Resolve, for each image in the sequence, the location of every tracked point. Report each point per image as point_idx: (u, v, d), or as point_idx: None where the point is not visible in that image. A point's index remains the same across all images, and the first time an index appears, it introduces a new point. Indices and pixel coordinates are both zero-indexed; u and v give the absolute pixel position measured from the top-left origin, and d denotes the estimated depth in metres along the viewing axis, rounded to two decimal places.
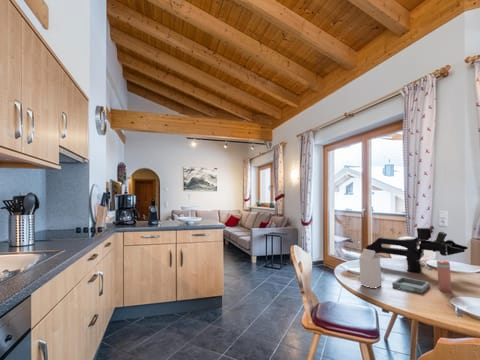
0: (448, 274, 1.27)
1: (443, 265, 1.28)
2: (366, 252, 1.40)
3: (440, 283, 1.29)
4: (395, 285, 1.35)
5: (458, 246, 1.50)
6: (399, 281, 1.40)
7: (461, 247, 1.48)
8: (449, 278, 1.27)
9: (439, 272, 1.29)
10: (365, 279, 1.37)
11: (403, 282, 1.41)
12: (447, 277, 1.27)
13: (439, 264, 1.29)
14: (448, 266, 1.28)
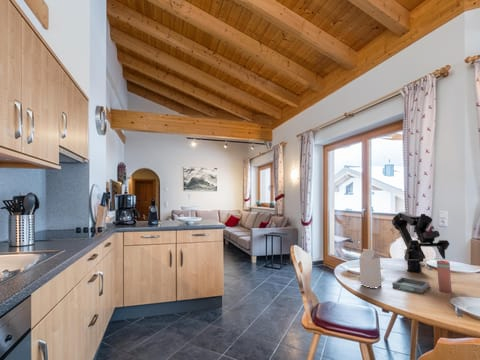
0: (448, 274, 1.27)
1: (443, 265, 1.28)
2: (366, 252, 1.40)
3: (440, 283, 1.29)
4: (395, 285, 1.35)
5: (441, 251, 1.40)
6: (399, 281, 1.40)
7: (442, 254, 1.39)
8: (449, 278, 1.27)
9: (439, 272, 1.29)
10: (365, 279, 1.37)
11: (403, 282, 1.41)
12: (447, 277, 1.27)
13: (439, 264, 1.29)
14: (448, 266, 1.28)
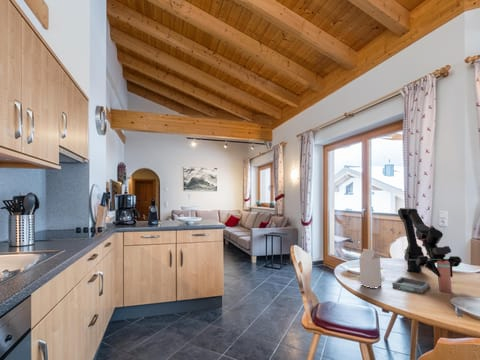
0: (448, 274, 1.27)
1: (443, 265, 1.28)
2: (366, 252, 1.40)
3: (440, 283, 1.29)
4: (395, 285, 1.35)
5: None
6: (399, 281, 1.40)
7: None
8: (449, 278, 1.27)
9: (439, 272, 1.29)
10: (365, 279, 1.37)
11: (403, 282, 1.41)
12: (447, 277, 1.27)
13: (439, 264, 1.29)
14: (448, 266, 1.28)
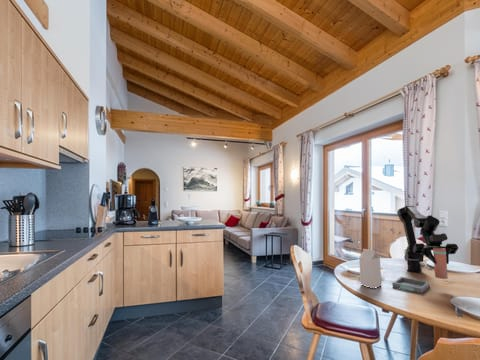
0: (444, 261, 1.28)
1: (439, 252, 1.29)
2: (366, 252, 1.40)
3: (436, 270, 1.30)
4: (395, 285, 1.35)
5: None
6: (399, 281, 1.40)
7: None
8: (445, 265, 1.28)
9: (435, 259, 1.30)
10: (365, 279, 1.37)
11: (403, 282, 1.41)
12: (443, 264, 1.28)
13: (435, 251, 1.30)
14: (444, 253, 1.28)
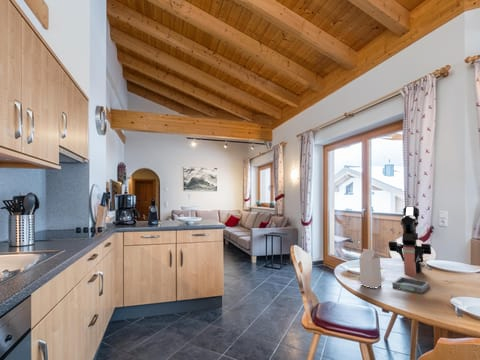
0: (410, 259, 1.33)
1: (405, 250, 1.35)
2: (366, 252, 1.40)
3: (404, 267, 1.36)
4: (395, 285, 1.35)
5: (415, 255, 1.35)
6: (399, 281, 1.40)
7: (415, 257, 1.35)
8: (412, 263, 1.33)
9: None
10: (365, 279, 1.37)
11: (403, 282, 1.41)
12: (410, 262, 1.34)
13: (403, 249, 1.37)
14: (411, 251, 1.34)
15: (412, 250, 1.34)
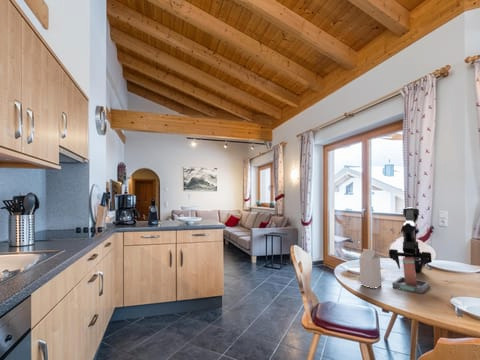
0: (410, 270, 1.33)
1: (405, 261, 1.35)
2: (366, 252, 1.40)
3: None
4: (395, 285, 1.35)
5: None
6: (399, 281, 1.40)
7: (420, 266, 1.33)
8: (412, 274, 1.33)
9: None
10: (365, 279, 1.37)
11: (403, 282, 1.41)
12: (410, 273, 1.33)
13: (403, 260, 1.37)
14: (410, 262, 1.34)
15: (412, 261, 1.34)
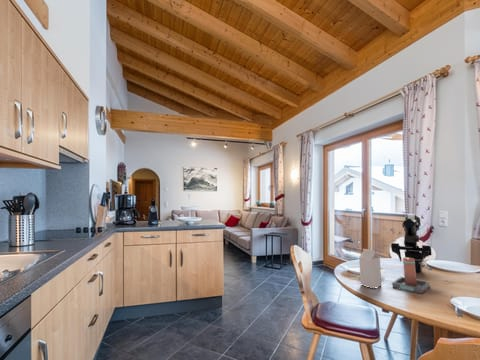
0: (411, 270, 1.33)
1: (406, 261, 1.35)
2: (366, 252, 1.40)
3: (405, 279, 1.36)
4: (395, 285, 1.35)
5: (421, 256, 1.42)
6: (399, 281, 1.40)
7: (420, 258, 1.41)
8: (412, 274, 1.33)
9: (404, 268, 1.36)
10: (365, 279, 1.37)
11: (403, 282, 1.41)
12: (410, 273, 1.33)
13: (403, 260, 1.36)
14: (411, 263, 1.33)
15: (412, 261, 1.33)
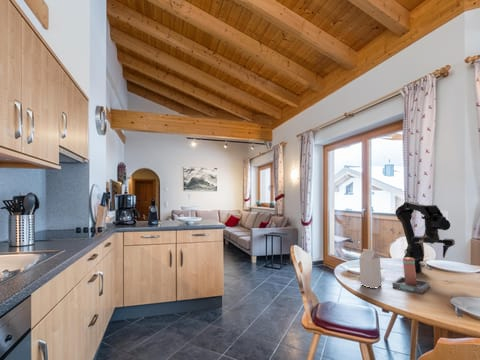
0: (411, 270, 1.33)
1: (406, 261, 1.35)
2: (366, 252, 1.40)
3: (405, 279, 1.36)
4: (395, 285, 1.35)
5: (443, 250, 1.41)
6: (399, 281, 1.40)
7: (443, 252, 1.41)
8: (412, 274, 1.33)
9: (404, 268, 1.36)
10: (365, 279, 1.37)
11: (403, 282, 1.41)
12: (410, 273, 1.33)
13: (403, 260, 1.36)
14: (411, 262, 1.33)
15: (412, 261, 1.33)
